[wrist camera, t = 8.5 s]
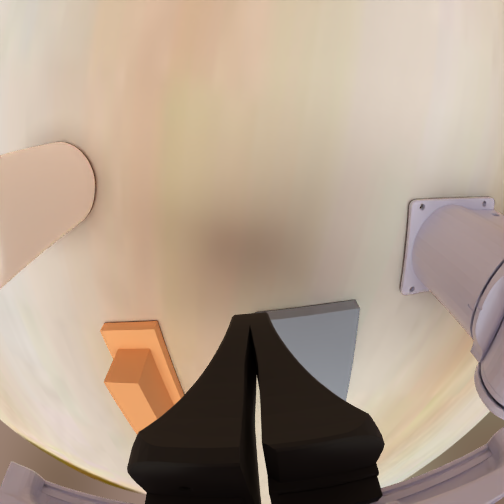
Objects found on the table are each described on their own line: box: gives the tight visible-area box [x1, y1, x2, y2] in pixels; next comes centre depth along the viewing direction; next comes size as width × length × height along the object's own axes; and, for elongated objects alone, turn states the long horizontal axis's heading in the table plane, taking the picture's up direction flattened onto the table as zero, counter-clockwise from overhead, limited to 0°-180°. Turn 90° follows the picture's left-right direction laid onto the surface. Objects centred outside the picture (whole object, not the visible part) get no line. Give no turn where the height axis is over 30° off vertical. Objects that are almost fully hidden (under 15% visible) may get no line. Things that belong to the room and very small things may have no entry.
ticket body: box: [255, 300, 360, 401], centre depth 25 cm, size 8×12×1 cm, turn 6°
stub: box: [100, 321, 184, 434], centre depth 23 cm, size 5×12×5 cm, turn 6°
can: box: [0, 142, 95, 289], centre depth 13 cm, size 6×6×12 cm
